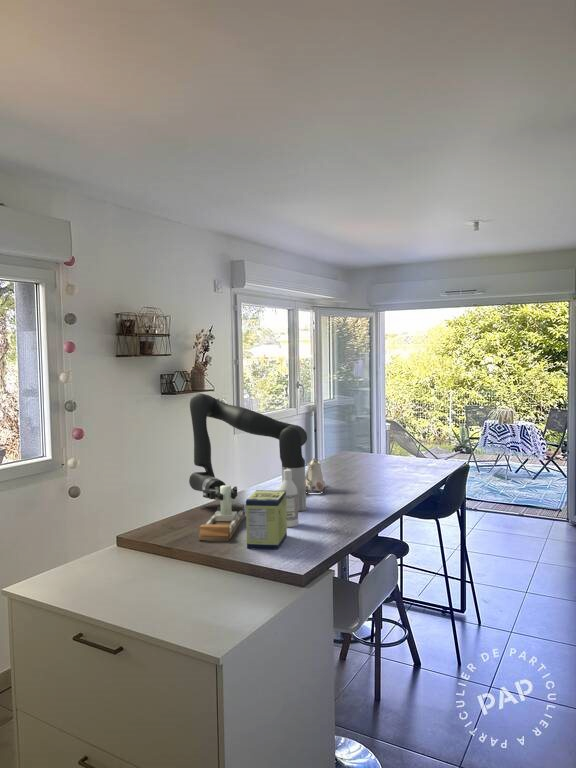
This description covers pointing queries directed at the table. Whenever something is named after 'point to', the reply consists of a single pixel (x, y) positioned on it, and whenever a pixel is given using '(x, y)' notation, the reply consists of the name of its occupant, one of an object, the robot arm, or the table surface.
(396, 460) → the table surface
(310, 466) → the chinaware
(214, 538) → the rail
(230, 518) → the keeper
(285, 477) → the bath foam
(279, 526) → the protein box
